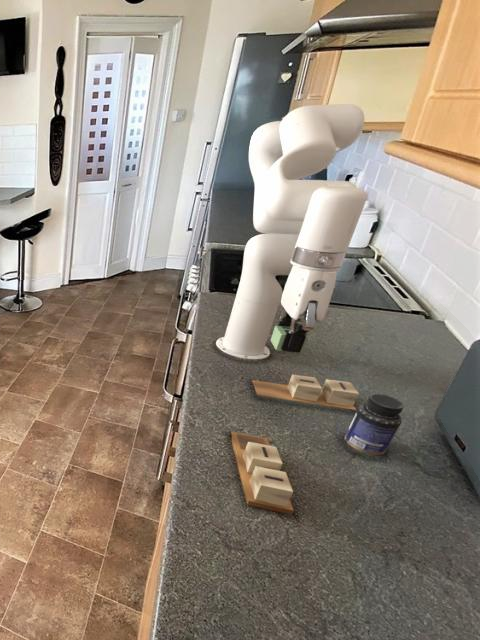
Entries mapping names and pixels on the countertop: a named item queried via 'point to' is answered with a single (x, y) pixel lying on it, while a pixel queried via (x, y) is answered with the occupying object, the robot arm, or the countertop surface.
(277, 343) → the green number cube
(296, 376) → the word
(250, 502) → the word
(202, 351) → the countertop surface
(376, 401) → the pill bottle
